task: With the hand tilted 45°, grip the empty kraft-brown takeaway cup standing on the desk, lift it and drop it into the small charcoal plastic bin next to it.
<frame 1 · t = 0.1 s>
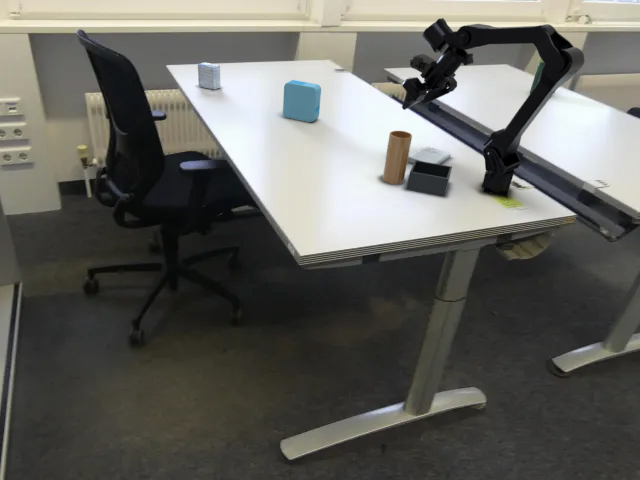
hand: (413, 105, 160), 15 cm above the table, tool tilted 35°, fingers open, 9 cm apart
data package: (300, 118, 193), on the table
cup: (393, 179, 153), on the table
medicine box: (209, 87, 220), on the table
hard drive: (428, 160, 166), on the table
bin: (427, 186, 150), on the table
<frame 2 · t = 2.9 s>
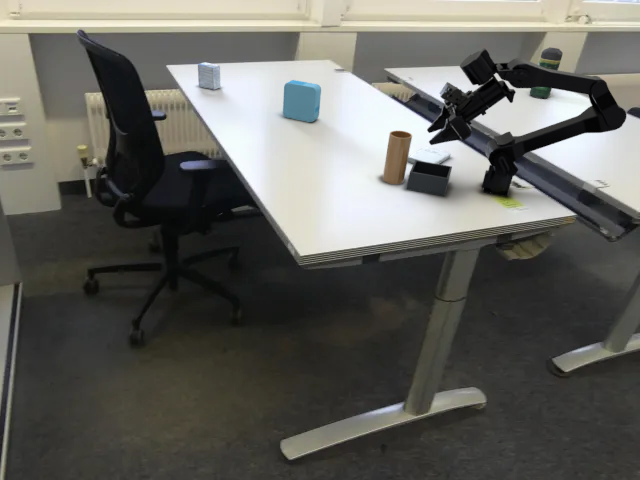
hand: (428, 137, 144), 13 cm above the table, tool tilted 45°, fingers open, 9 cm apart
nothing on the table moved.
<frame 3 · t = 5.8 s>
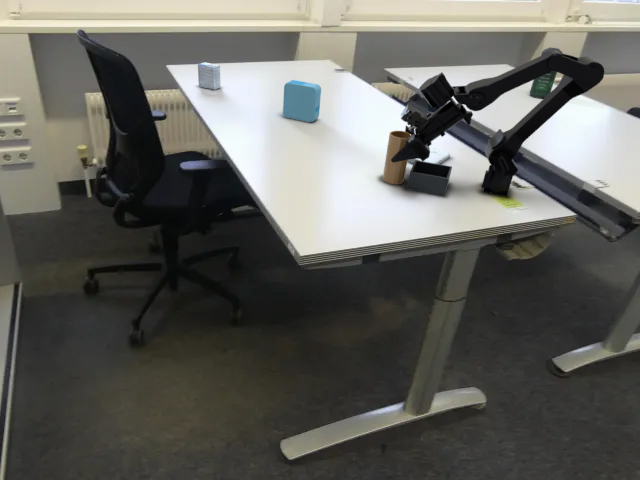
hand: (391, 156, 149), 7 cm above the table, tool tilted 45°, fingers closed on cup, 6 cm apart
cup: (393, 179, 152), on the table, touching gripper
everything else where it was.
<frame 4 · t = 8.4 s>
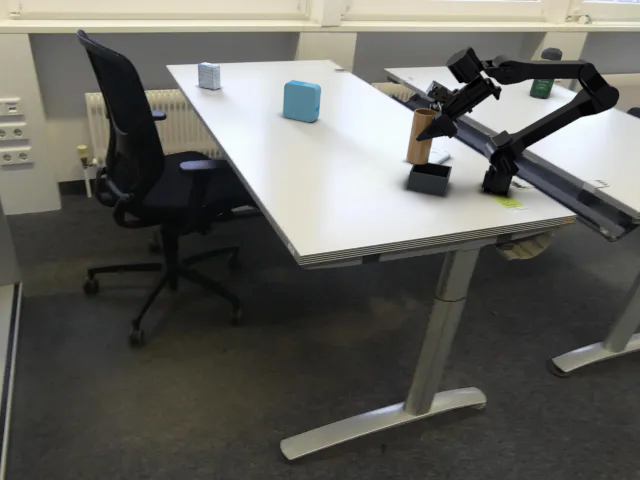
hand: (416, 135, 144), 13 cm above the table, tool tilted 45°, fingers closed on cup, 6 cm apart
cup: (417, 160, 147), point 7 cm above the table, touching gripper
everything else where it was.
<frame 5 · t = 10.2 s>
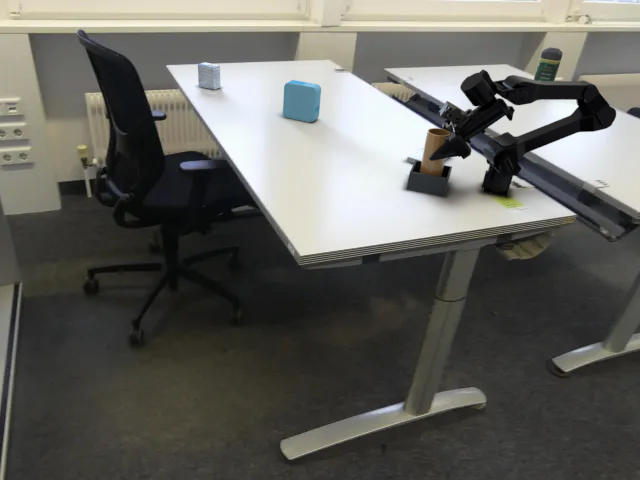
hand: (429, 155, 145), 9 cm above the table, tool tilted 45°, fingers closed on cup, 6 cm apart
cup: (429, 178, 149), point 2 cm above the table, touching gripper
everything else where it was.
when the fingers open (7 cm above the table, at t = 11.3 s): cup stays where it is, resting on bin.
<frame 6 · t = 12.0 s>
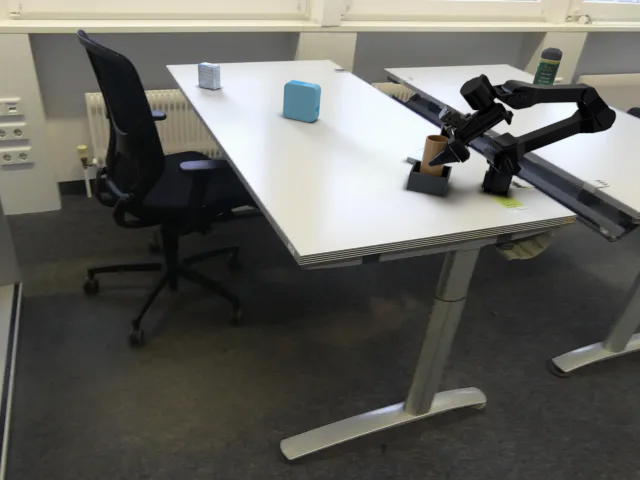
hand: (428, 158, 146), 8 cm above the table, tool tilted 45°, fingers open, 9 cm apart
cup: (428, 184, 150), resting on bin
everything else where it was.
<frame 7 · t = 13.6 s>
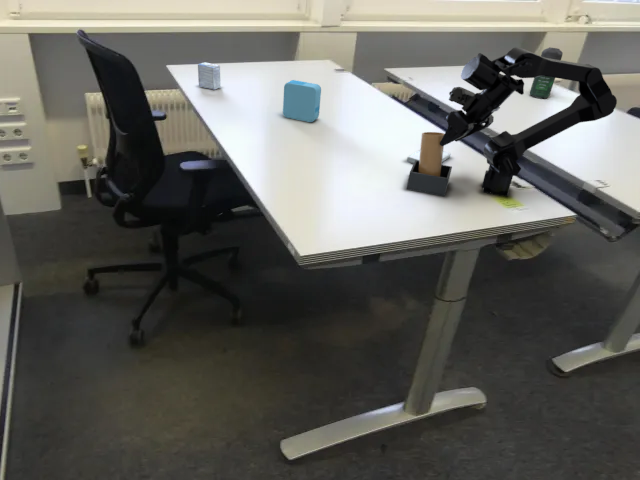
hand: (448, 142, 146), 11 cm above the table, tool tilted 30°, fingers open, 9 cm apart
cup: (428, 182, 149), point 1 cm above the table, tilted 12°, touching bin, gripper
everything else where it was.
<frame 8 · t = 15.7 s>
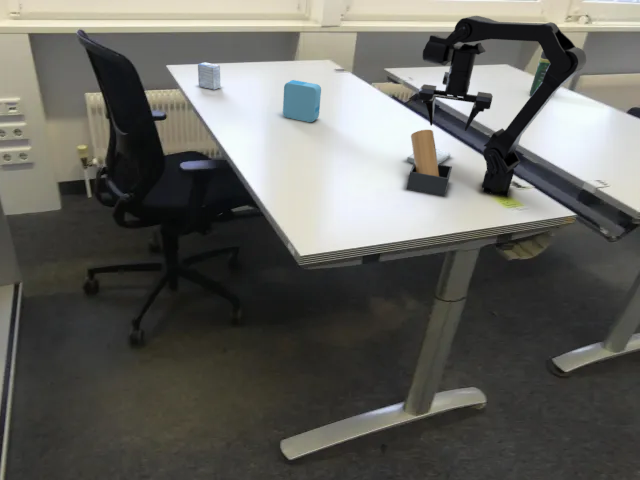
hand: (448, 127, 151), 13 cm above the table, tool pointing down, fingers open, 9 cm apart
cup: (428, 180, 147), point 2 cm above the table, tilted 41°, touching bin
everything else where it was.
at the end: cup inside the target area in the bin (1.6 cm from its centre), point 2.4 cm above the bin's base; the gripper is holding nothing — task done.
